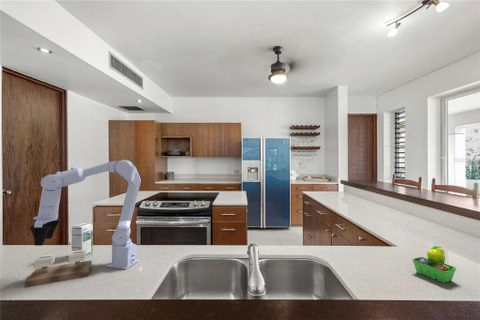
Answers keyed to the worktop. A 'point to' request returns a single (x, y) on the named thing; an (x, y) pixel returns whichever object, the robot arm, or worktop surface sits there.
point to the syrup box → (83, 238)
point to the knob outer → (44, 260)
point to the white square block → (77, 256)
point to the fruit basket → (434, 265)
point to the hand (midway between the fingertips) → (43, 241)
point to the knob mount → (58, 273)
